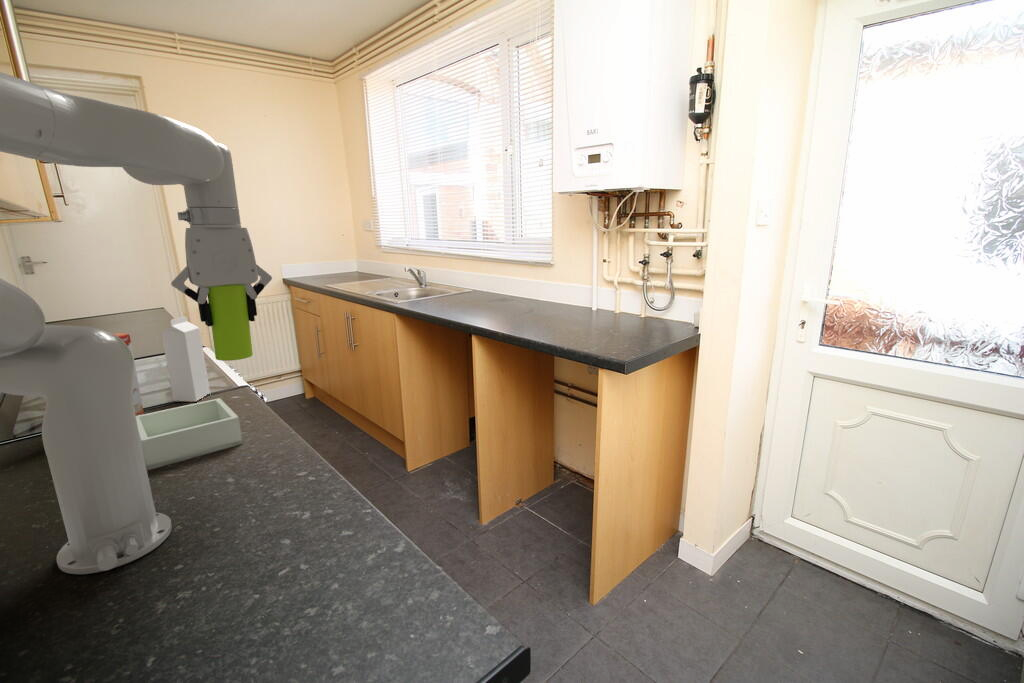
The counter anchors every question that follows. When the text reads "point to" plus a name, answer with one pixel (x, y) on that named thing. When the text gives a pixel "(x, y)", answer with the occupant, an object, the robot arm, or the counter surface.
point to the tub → (187, 432)
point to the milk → (185, 360)
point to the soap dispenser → (230, 322)
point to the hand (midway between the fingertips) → (230, 321)
